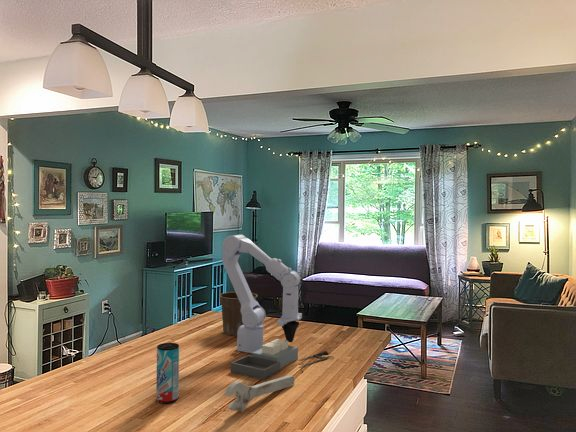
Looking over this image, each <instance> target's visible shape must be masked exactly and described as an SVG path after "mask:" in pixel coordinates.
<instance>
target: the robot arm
mask: <svg viewBox="0 0 576 432" xmlns="http://www.w3.org/2000/svg"><path fill="white" fill-rule="evenodd" d="M221 248H222V258H221V259H222V261H221V262H222V265H223V267H224V269H225V271H226V273H227V275H228V278H229V280H230V282H231V284H232V288H233V289H234V292H236V294H237V296H238V299H239V301H240V303H241V314H242V322H243V324H244V325H241V326H240V327H239V329H238V332H237V336H236V337H237V339H236V341H237V342H236V348H235V350H236V351H240V352H243V353H248V354H252V352H255V351H257V350H259V349H261V348H262V345H264V327H265V325H264V321H265V319H266V317H267V316H266V310H265V309H264V308H263V307H262V306H261V305H260V304H259V302H258V300H257V299H256V300H255V299H254V298H253V295H252V293H253V292H252V291H251V289H250V287H249V286H250V285H249V284H248V282H247V279H246V278H245V275H244V273H243V270H242V269H241V266H240V264H239V258H240V256H241V255H242V253H243V254H244V253H245V254H249V255H251V256H253V258H255V259H256V260H257V261H259V262H260V263H262V264H263V265H264V266H265V270H266V271H267V273H269V274H271V276H273V277H274V278H276V280H278V281H279V282H280V284H281V286H282V309H281V310H282V312H281V313H282V314H281V317H280V318H279V319H277V321H276V323H277V327H278V326H279V327H282V330H283V333H284V336H285V340H288V343H293V342H294V339H295V336H296V332H297V329H298V327H299V325H300V322H299V321H300V320H301V319H303V313H302V312H299V284H300V281H301V276H300V274H299V273H298V272H297V271H296V270H292V268H291V267H288V266H287V265H285V264H284V263H283V262H282V261H283V260H282V259H281V258H276V257H273V258H271V257H270V256H269V255H268V254H267V253H265V251H263V250H262V249H261V248H260V247H259V246H258V245H256V243H254V242H253V241H252V240H251V239H249V238H248V237H246V236H245V235H244V234H242V233H240V234H234V235H232V234H231V235H228V236H226V237H225V238H224V240H223V243H222V244H221Z"/></svg>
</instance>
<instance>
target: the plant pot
mask: <svg viewBox="0 0 576 432" xmlns="http://www.w3.org/2000/svg"><path fill="white" fill-rule="evenodd" d="M251 293H252V295H253V298H254V299H255V300H256V301H257V298H258V297H259V296H258V294H257V293H254V292H251ZM218 296H219V299H220V306H221V318H222V332H223V334H225V335H229V336H234V337H235V336H236V337H237V332H238V329H239V327H240V326H241V325H244V324H243V322H242V314H241V303H240V301H239V299H238V296H237V294H236V292H235V291H227V292H222V293H220V294H219V295H218Z"/></svg>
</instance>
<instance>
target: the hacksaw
mask: <svg viewBox="0 0 576 432" xmlns="http://www.w3.org/2000/svg"><path fill="white" fill-rule="evenodd" d="M325 355H326V356H325ZM327 355H329V351H328V350H323V351H321V352H319V353H315V354H313V355H312V356H310V355H309V356H308V357H304V358H301V359H299V360H297V361H299V362H303V361H306V360H308V359H313V358H318V359H316V360H314V361H312V362H311V361H310V362H309V363H306V364H304V365H302V366H299V367H298V369H300V371H301V372H299V373H298V374H303V373H304V371H303V368H304V369H305V368H307V366H310V365H313V364H317V363H320V362H323V361H326V360H329V358H331V360H333V359H335V358H334V356H333V355H332V356H331V355H329V356H327Z"/></svg>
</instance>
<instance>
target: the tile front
mask: <svg viewBox="0 0 576 432" xmlns="http://www.w3.org/2000/svg"><path fill="white" fill-rule="evenodd" d="M278 352H280V344H276V343H271V341H270V342H266V343H265V344H264V343H263V345H262V353H266V354H271V355H274V354H276V353H278Z"/></svg>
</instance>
